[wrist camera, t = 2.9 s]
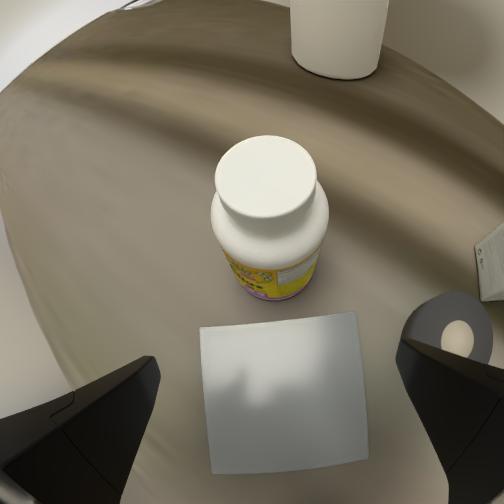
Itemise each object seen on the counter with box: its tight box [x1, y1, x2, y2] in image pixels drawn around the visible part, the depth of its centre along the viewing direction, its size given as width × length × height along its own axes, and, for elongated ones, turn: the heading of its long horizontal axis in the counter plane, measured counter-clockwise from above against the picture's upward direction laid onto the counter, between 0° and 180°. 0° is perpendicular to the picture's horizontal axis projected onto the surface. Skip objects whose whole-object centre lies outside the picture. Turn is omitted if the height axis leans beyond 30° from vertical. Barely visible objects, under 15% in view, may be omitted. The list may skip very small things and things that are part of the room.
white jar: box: [290, 0, 389, 79], centre depth 26 cm, size 12×12×20 cm
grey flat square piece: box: [200, 311, 369, 474], centre depth 21 cm, size 12×12×1 cm
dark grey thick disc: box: [400, 291, 493, 364], centre depth 20 cm, size 8×8×3 cm
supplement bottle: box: [211, 135, 329, 300], centre depth 19 cm, size 7×7×13 cm
